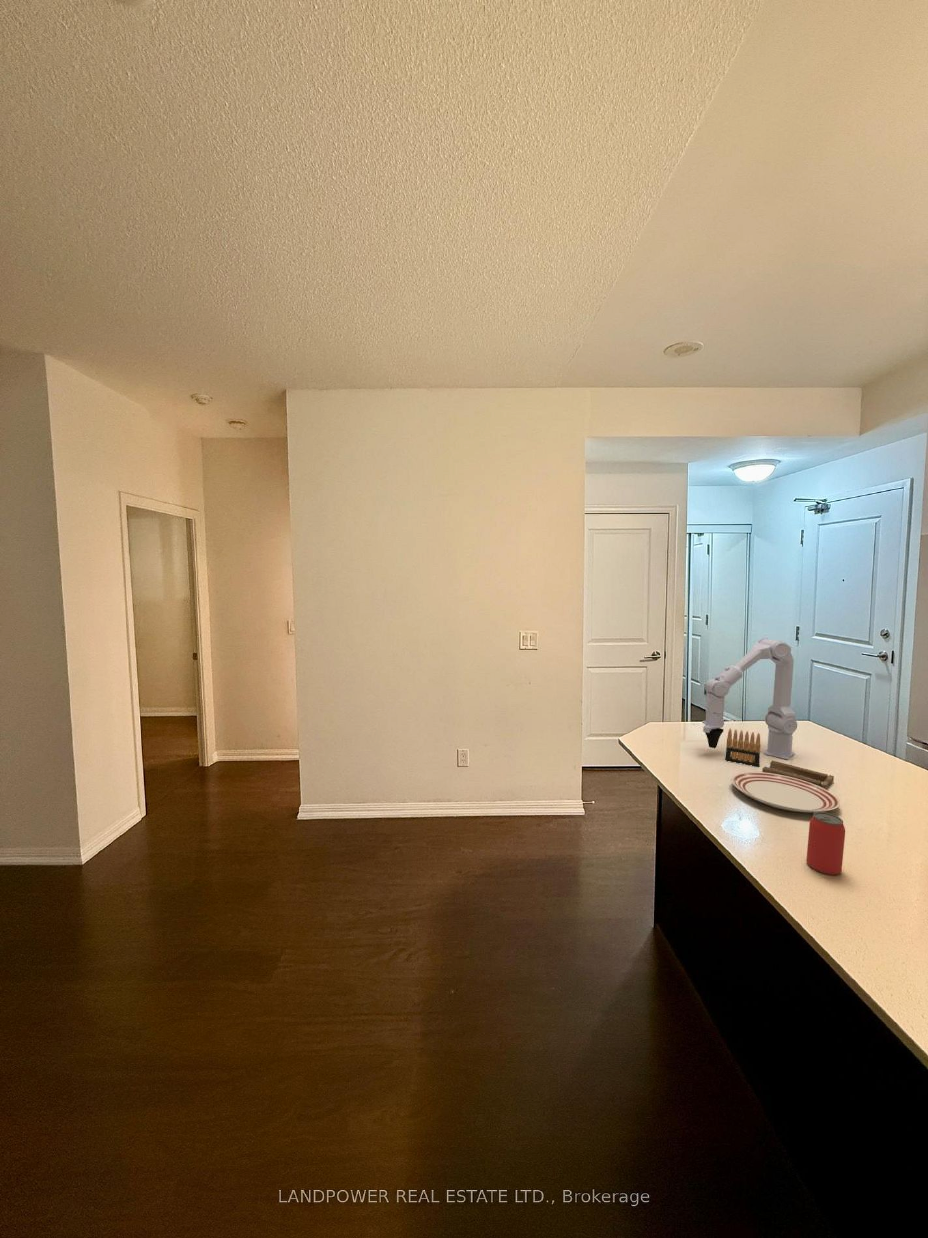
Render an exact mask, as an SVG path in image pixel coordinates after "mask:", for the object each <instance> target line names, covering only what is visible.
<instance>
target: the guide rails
mask: <svg viewBox="0 0 928 1238" xmlns="http://www.w3.org/2000/svg"><path fill="white" fill-rule="evenodd" d="M769 763H770V764H769V767H768V766H764V767H762V771H761V772H764V773H772V774H779V775H784V776H788V777H793V778H796V779H800V780H803V781H806V782H809V783H812V784H815V785H817V786H820V787H822V788H824V789H826V790H829V788H830V787H831V786H832V784H833V783H834V780H835V776H834V775H832V774H831V775H830V774H827V773H823V772H819V771H815V770H812V769H808V768H803V767H800V766H796V765H792V764H788V763H785V762H780V761H777V760H771V761H770V762H769Z"/></svg>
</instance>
